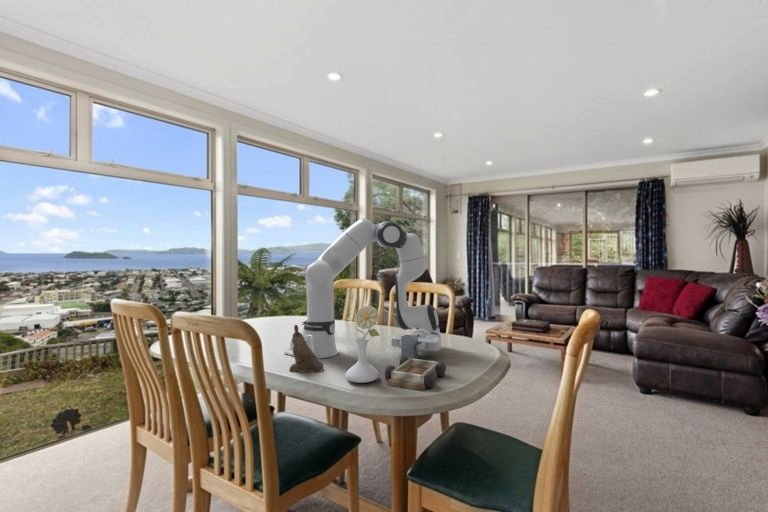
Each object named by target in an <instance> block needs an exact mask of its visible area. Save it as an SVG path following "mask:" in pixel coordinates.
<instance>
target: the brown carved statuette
mask: <svg viewBox="0 0 768 512" xmlns="http://www.w3.org/2000/svg"><path fill="white" fill-rule="evenodd" d="M293 329H294V332H293V334H292V338H291V340H292V342H293V354H294V356H293V357H294V360H295V362H294V363H293V364H292V365H290V367H289V371H321V370H323V371H324V369H323V368H324V364H323V363H322V361H320V359H319V358H317V357H316V356H315V355H314V353H313V352H312V351H311V349H310V348H309V347H308V345H307V343H306V341H305V339H304V337H303V335H302V334H301V333H299V332H300V331H299V326H298V325H297V324H295V325H294V327H293ZM321 372H322V371H321Z"/></svg>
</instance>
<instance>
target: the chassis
mask: <svg viewBox="0 0 768 512" xmlns="http://www.w3.org/2000/svg"><path fill="white" fill-rule="evenodd" d="M398 364H399V365H398V366H397V367H395V366H394V365H391V364H388V365H387V366H386V367H385V371H384V379H385V381H386V382H387V386H390V387H391V386H392V387H396V388H403V389H409V390H413V391H414V390H415V391H420V392H421V391H422V392H425V390H427V388H430V389H433V388H434V386H435V383H436V379H437V378H438V377H443V378H444V377H445V375H446V372H447V371H446V370H447V367H446V366H447V365H446V362H445V361H443V360H438V361H435V360H427V359H426V360H425V359H419V358H418V359H412V358H410V359H409V360H408V357H404V356H402V357H400V358H399V363H398Z"/></svg>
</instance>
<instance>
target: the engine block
mask: <svg viewBox="0 0 768 512" xmlns="http://www.w3.org/2000/svg"><path fill="white" fill-rule="evenodd" d="M403 335H404V336H402V337H401V348H400V350H401V351H400V352H401V355H400V356H401V357H402V356H404V357H408V360H409V359H410V358H412V359H419V351H418V350H415V348H416V347H415V346H416V345H418V336H416V335H411V334H403ZM401 357H400V358H401Z"/></svg>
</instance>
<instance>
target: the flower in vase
mask: <svg viewBox="0 0 768 512" xmlns="http://www.w3.org/2000/svg"><path fill="white" fill-rule="evenodd" d="M379 318H380V316H379V309H377V308H376V307H374V306H371V305H367V306H363V307H362V308H361V307H360V308H359V310H358V311H357V312H356V314H355V316H354V319H355V324H356V326H357V327H359V328H362V329H363V330H367V329H368V330H367V332H366V334H365V333H364V331H361V330H360V329H358V328H357V327H356V326H355V330H356V331H358V332H360V333H361V334H363V335H364V336H357V337H355V338H354V340H355V341H356V344H357V347H358V360H357V361H356V363H355V364H353V365H352V366H351V367H349V369H347V371H346V372H345V374H344V377H345V378H346V380H348V381H350V382H353V383H358V384H359V383H363V384H364V383H365V384H366V383H370V382H374V381H375V380H377V379H379V378H380V375H381V373H380V372H379V370H377V368H375V367H374V366H373V365H372V364H370V363H369V362H368V360H367V356H366V355H367V347H368V346H367V345H368V343H369V341H370V340H371V337H377V336H380V334H379V332H378V331H377V330H376V328H372V327H374V326H375V325H376V323H377V322H378V320H379ZM371 328H372V329H371ZM368 334H369V336H370V337H368V336H367V335H368Z"/></svg>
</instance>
